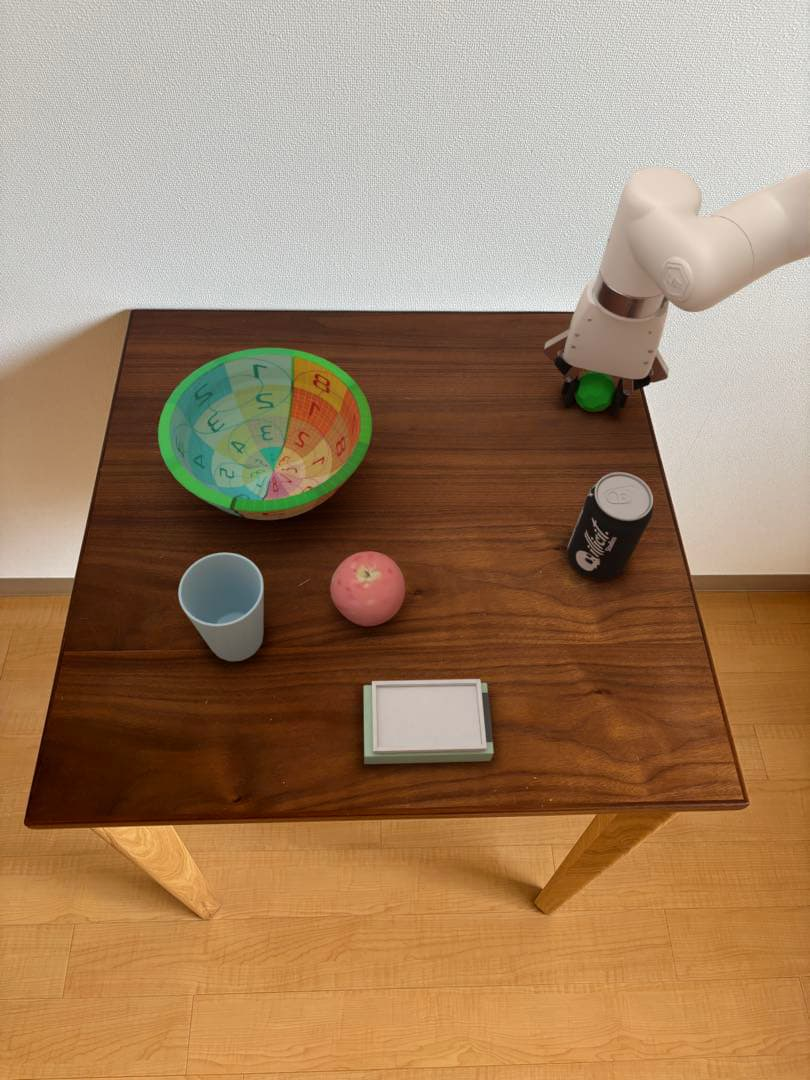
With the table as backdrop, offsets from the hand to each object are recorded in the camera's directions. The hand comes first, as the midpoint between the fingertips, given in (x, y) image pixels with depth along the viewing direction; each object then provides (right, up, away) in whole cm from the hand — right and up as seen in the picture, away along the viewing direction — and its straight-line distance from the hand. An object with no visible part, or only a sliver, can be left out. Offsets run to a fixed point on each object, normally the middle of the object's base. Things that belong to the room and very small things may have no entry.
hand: (591, 401), depth 102 cm
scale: (-21, -35, -23) cm, 47 cm away
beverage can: (-2, -19, -12) cm, 23 cm away
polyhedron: (0, 0, +1) cm, 1 cm away
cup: (-41, -27, -18) cm, 52 cm away
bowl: (-38, -10, -8) cm, 40 cm away
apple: (-27, -24, -16) cm, 40 cm away
